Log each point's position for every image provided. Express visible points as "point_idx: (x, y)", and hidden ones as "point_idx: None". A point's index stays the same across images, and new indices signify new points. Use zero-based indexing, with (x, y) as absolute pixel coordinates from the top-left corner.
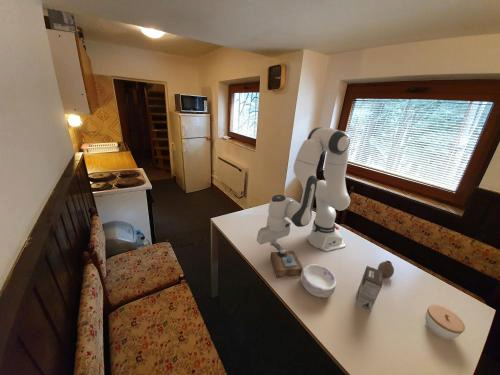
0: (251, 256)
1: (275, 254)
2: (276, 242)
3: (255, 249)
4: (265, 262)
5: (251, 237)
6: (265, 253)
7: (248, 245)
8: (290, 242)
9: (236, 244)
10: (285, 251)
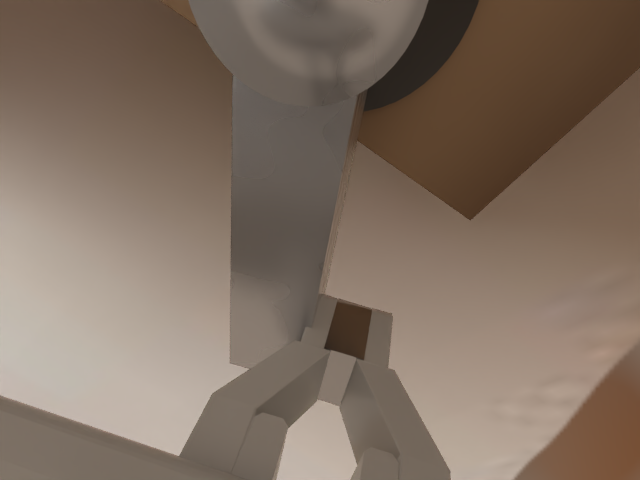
0: (581, 331)
1: (472, 104)
2: (235, 316)
3: (438, 354)
4: (572, 152)
5: (330, 436)
6: (405, 254)
7: (441, 415)
8: (5, 166)
9: (512, 476)
10: (187, 5)
